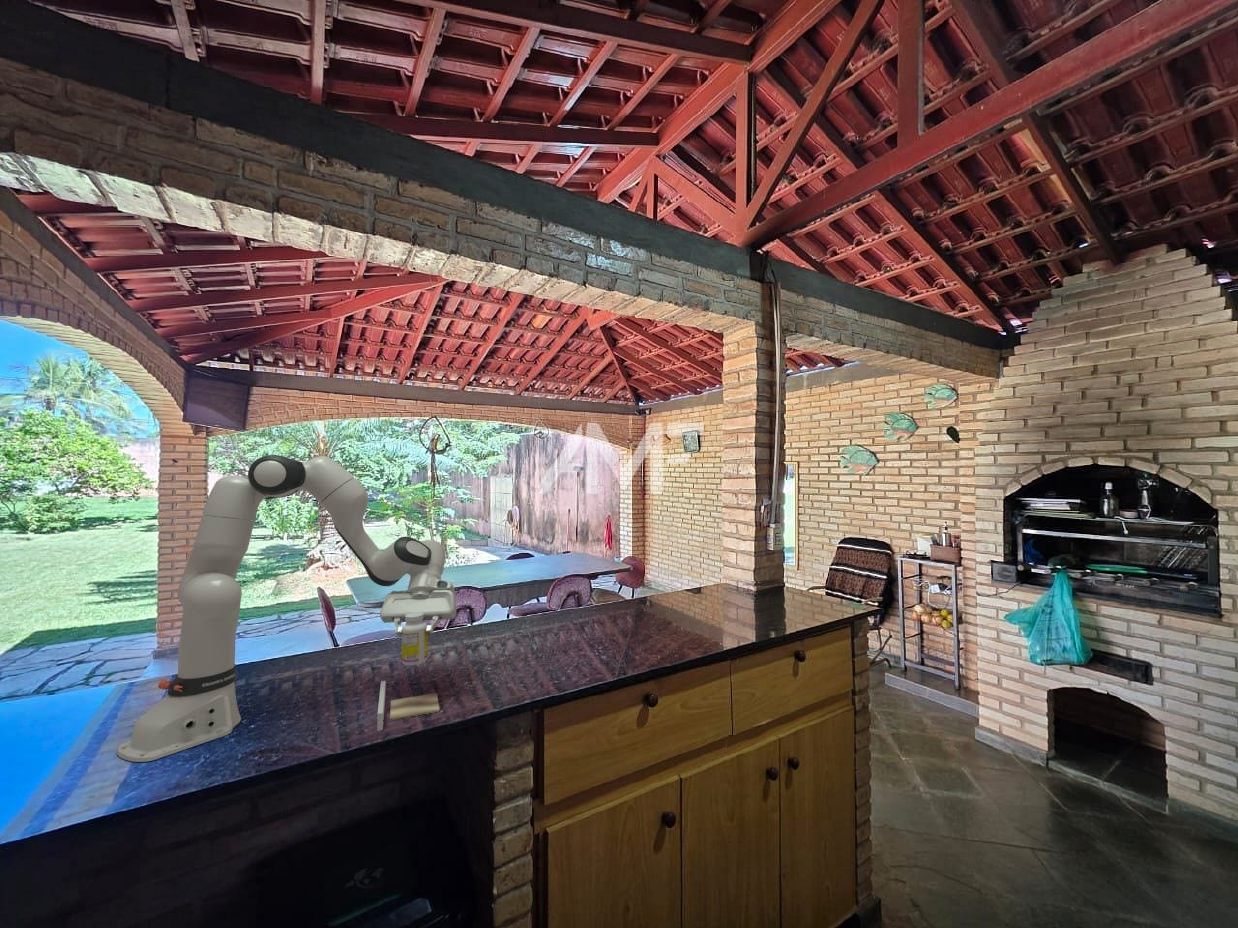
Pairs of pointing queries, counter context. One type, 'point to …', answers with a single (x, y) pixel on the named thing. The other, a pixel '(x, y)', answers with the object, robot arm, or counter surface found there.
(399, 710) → the light oak mat
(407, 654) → the supplement bottle
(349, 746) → the counter surface
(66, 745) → the counter surface
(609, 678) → the counter surface
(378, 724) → the frosted acrylic wall
